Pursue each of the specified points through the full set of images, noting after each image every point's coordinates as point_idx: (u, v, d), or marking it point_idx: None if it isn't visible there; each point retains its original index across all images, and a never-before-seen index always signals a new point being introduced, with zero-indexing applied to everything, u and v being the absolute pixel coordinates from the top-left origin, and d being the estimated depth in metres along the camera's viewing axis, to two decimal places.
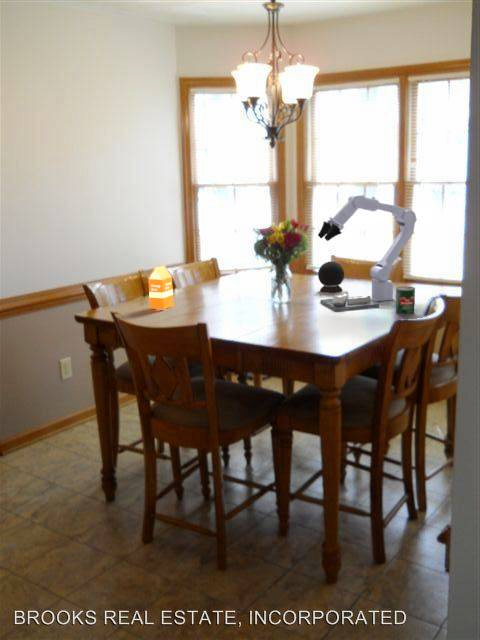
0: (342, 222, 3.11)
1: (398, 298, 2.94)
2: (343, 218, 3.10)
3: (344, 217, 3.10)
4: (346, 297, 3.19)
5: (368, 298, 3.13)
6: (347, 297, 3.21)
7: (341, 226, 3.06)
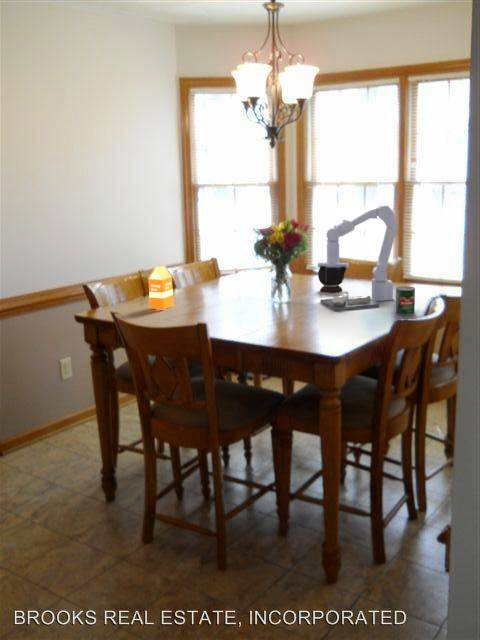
0: None
1: (398, 298, 2.94)
2: None
3: (338, 255, 3.23)
4: (346, 297, 3.19)
5: (368, 298, 3.13)
6: (347, 297, 3.21)
7: (348, 265, 3.22)
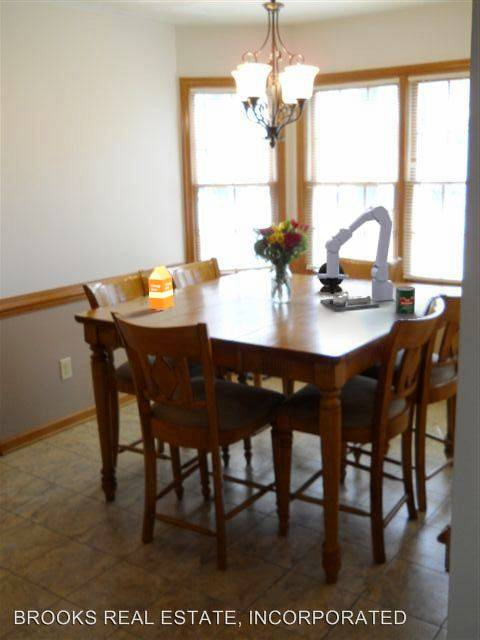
0: (338, 270, 3.20)
1: (398, 298, 2.94)
2: (338, 268, 3.19)
3: (338, 266, 3.19)
4: (346, 297, 3.19)
5: (368, 298, 3.13)
6: (347, 297, 3.21)
7: (348, 276, 3.19)
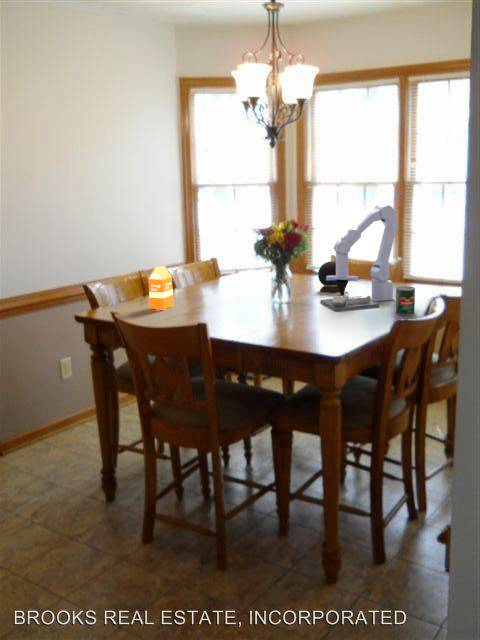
0: None
1: (398, 298, 2.94)
2: None
3: (347, 268, 3.18)
4: (346, 297, 3.19)
5: (368, 298, 3.13)
6: (347, 297, 3.21)
7: (357, 278, 3.17)
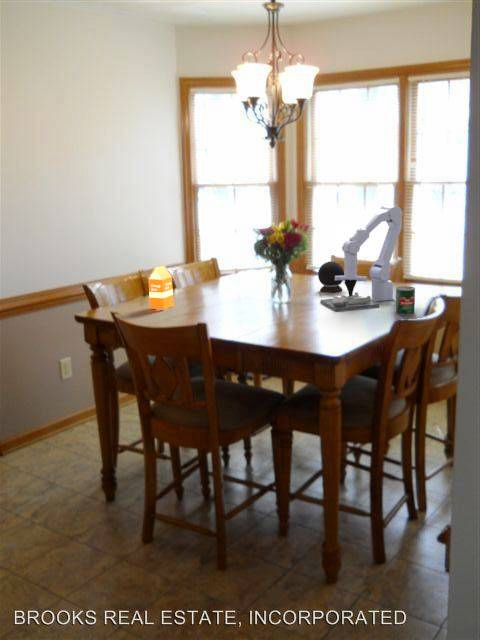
0: (356, 272, 3.17)
1: (398, 298, 2.94)
2: (356, 270, 3.16)
3: (356, 268, 3.16)
4: None
5: (368, 298, 3.13)
6: None
7: (366, 278, 3.16)
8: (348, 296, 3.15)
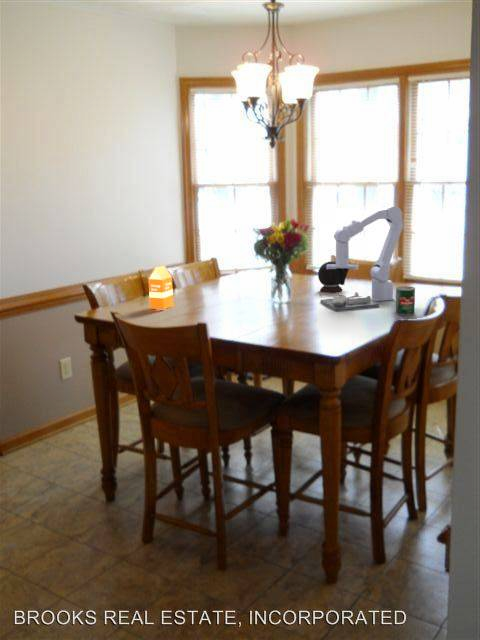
0: (348, 261, 3.18)
1: (398, 298, 2.94)
2: (348, 258, 3.17)
3: (348, 256, 3.17)
4: None
5: (368, 298, 3.13)
6: None
7: (357, 267, 3.16)
8: (348, 296, 3.15)
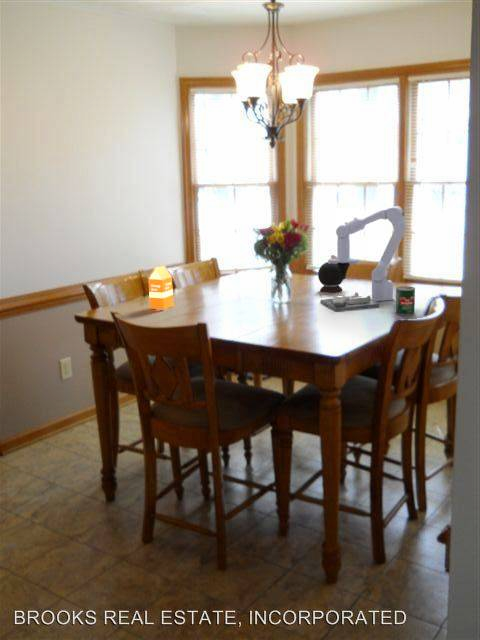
0: (349, 255, 3.27)
1: (398, 298, 2.94)
2: (349, 253, 3.26)
3: (349, 251, 3.26)
4: None
5: (368, 298, 3.13)
6: None
7: (358, 261, 3.25)
8: (348, 296, 3.15)
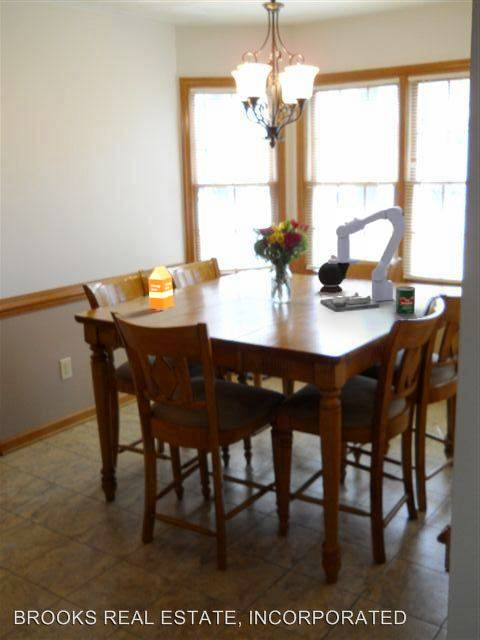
0: (349, 255, 3.27)
1: (398, 298, 2.94)
2: (349, 253, 3.26)
3: (349, 251, 3.26)
4: None
5: (368, 298, 3.13)
6: None
7: (358, 261, 3.25)
8: (348, 296, 3.15)
